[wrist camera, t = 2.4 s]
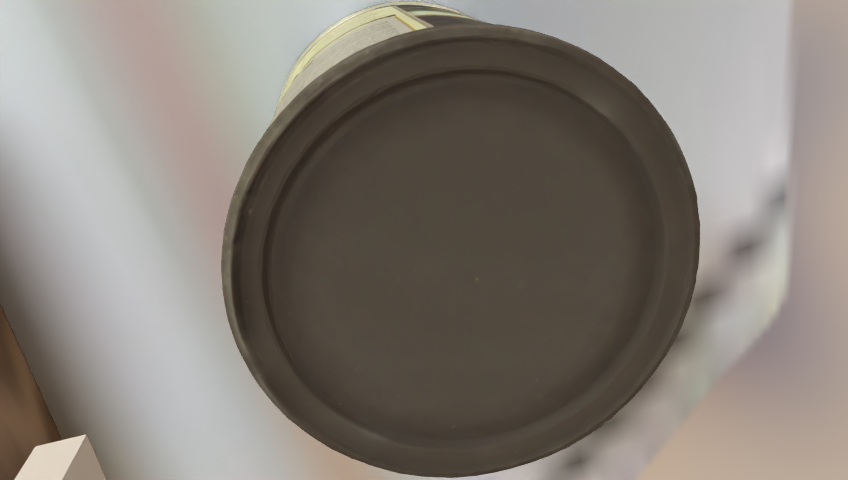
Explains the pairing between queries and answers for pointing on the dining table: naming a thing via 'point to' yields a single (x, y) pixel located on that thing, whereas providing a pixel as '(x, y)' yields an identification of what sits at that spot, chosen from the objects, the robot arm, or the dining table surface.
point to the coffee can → (457, 243)
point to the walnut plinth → (19, 407)
